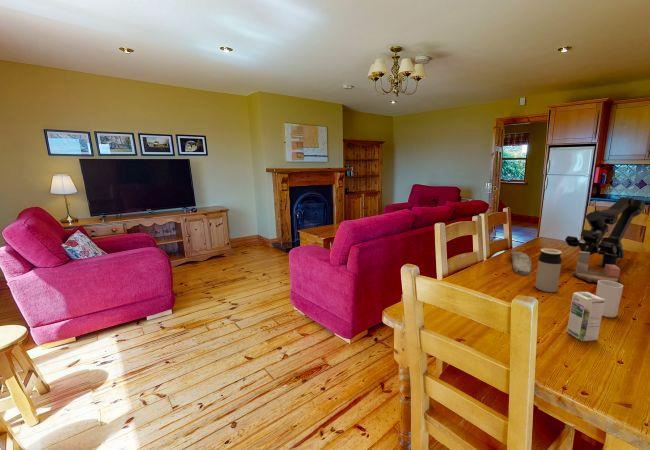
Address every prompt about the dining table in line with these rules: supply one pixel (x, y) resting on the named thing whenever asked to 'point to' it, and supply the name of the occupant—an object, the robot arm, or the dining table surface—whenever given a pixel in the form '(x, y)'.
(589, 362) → the dining table surface
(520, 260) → the elongated rock
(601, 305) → the syrup box
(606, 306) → the mug
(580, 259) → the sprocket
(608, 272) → the dusty pink block
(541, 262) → the travel mug
